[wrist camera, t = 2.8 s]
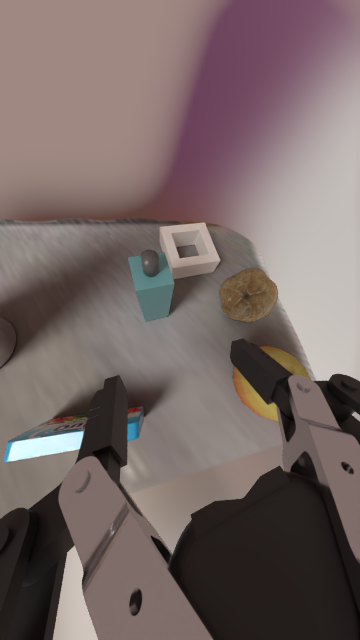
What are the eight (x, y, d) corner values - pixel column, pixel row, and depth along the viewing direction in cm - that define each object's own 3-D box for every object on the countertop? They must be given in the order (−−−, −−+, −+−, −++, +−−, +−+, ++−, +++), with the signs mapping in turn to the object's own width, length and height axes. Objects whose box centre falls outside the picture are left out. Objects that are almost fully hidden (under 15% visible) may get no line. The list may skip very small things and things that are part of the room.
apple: (268, 345, 26) (313, 338, 19) (286, 404, 24) (346, 423, 16) (219, 352, 25) (245, 347, 17) (232, 416, 22) (270, 444, 15)
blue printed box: (144, 405, 21) (138, 422, 15) (144, 417, 21) (138, 439, 15) (51, 418, 19) (4, 443, 13) (49, 431, 19) (-1, 463, 13)
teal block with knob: (145, 321, 24) (131, 279, 12) (140, 300, 25) (123, 242, 13) (168, 316, 25) (176, 272, 13) (162, 296, 26) (165, 237, 14)
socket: (171, 279, 27) (172, 268, 24) (159, 242, 30) (159, 226, 26) (213, 272, 29) (220, 260, 26) (199, 237, 31) (204, 222, 28)
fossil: (259, 258, 25) (290, 306, 20) (263, 271, 28) (290, 315, 23) (212, 284, 29) (229, 330, 24) (220, 294, 32) (236, 335, 27)
